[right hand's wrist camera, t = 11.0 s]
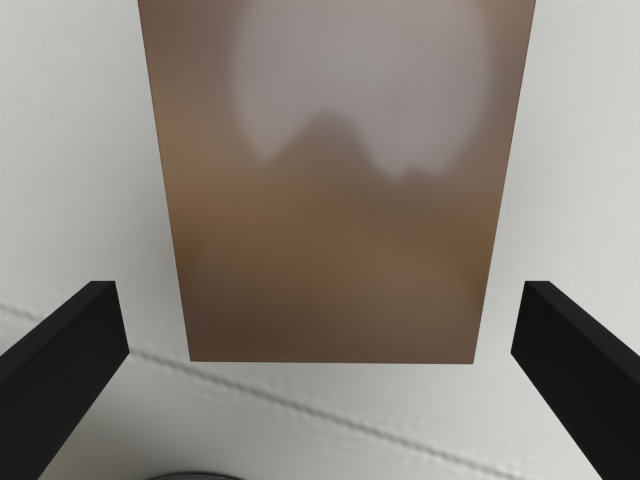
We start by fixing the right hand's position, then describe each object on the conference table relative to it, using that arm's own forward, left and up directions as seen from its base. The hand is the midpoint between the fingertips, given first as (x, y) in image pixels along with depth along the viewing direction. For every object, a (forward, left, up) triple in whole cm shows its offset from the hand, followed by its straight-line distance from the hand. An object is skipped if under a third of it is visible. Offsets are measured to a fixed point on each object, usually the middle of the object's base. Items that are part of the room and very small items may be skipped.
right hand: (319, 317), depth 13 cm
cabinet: (+3, +7, -9) cm, 12 cm away
